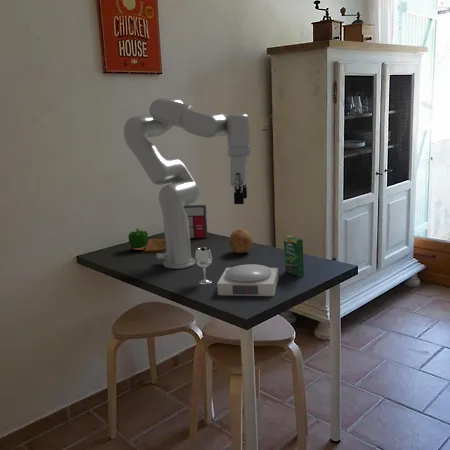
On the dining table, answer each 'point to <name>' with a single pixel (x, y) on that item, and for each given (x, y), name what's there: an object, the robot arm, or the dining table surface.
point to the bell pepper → (138, 239)
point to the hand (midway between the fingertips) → (240, 201)
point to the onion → (240, 241)
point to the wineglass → (203, 261)
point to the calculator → (197, 220)
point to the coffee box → (294, 255)
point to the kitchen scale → (248, 281)
